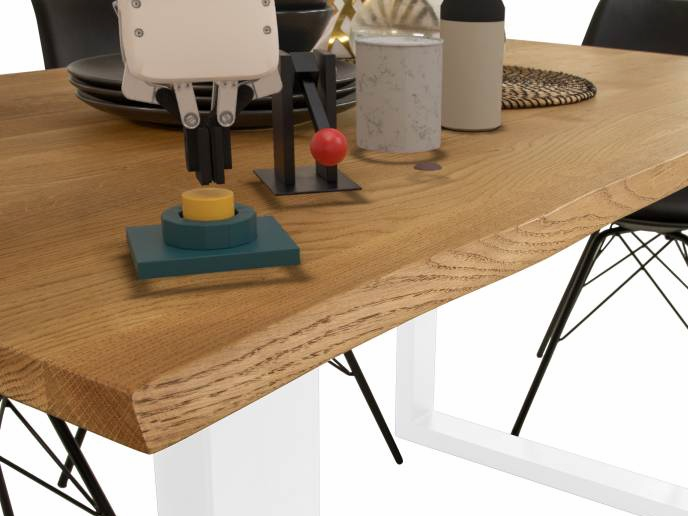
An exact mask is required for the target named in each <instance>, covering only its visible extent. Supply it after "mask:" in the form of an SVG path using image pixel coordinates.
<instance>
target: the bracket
mask: <svg viewBox="0 0 688 516" xmlns="http://www.w3.org/2000/svg"><path fill="white" fill-rule="evenodd" d="M312 52H313V55H314V57H315V60H316V63H317V66H318V68H319V71H320V72H319V79H318V86H317V91H318V94H319V97H320V100H321V103H322V105H323V108H324V111H325V114H326V117H327V119H328V122H329V125H330V128H333V129H336V130H338V121H337V120H338V119H337V118H338V117H337V115H338V114H337V76H338V69H337V56H336V54H335V53H333V52H331V51H328V50H326V49H324V48H313V49H312ZM278 71H279V74H280V78H281V81H282V86H283V87H282V90H281V91H280V92H278V93H275V94H272V95H271V116H272V117H271V120H272V145H273V168H257V169H256V168H255V169H253V170H252V172H253V174H254V175H255V176H256V177H257V178H258V179H259V180H260V182H262V183H263V185H265V187H266V188H267V189H268V190H269V191H270V192H271V194H273V196H274V197H282V196H298V195H299V196H300V195H310V194H311V195H312V194H313V195H314V194H325V193H326V194H327V193H339V192H353V191H363V187H362V186H360V185H359V184H358V183H357V182H355V181H354V180H353V179H352V178H350V177H349V176H348V175H347V174H345V173H344V172H343V171H341V170H340V169H339V168H338V164H337V165H334V166H325V165H322V164H320V163H318V162H317V161H316V160H315V159H314V160H315V161H314V163H315V165H308V166H307V165H305V166H304V165H303V166H296V157H295V156H296V155H295V154H296V153H295V125H294V124H295V123H294V96H293V95H294V93H293V87H292V56H291V55H290V54H289V53H288V52H286V51H284V50H282V49H279V62H278ZM315 133H316V132H315V131H314V134H315Z"/></svg>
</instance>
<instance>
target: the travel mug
mask: <svg viewBox="0 0 688 516" xmlns="http://www.w3.org/2000/svg"><path fill="white" fill-rule="evenodd" d="M505 20H506V6H505V4H504V2H503V0H442V1H441V4H440V6H439V38H440V39H443V41H444V43H443V54H442V103H441V127H442V128H444V129H448V130H452V131H458V132H486V131H491V130H495V129H497V128H498V127H500V126H501V123H502V98H503V77H504V76H503V73H504V50H505V49H504V48H505V25H506V21H505Z"/></svg>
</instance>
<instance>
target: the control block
mask: <svg viewBox="0 0 688 516" xmlns="http://www.w3.org/2000/svg"><path fill="white" fill-rule="evenodd" d="M234 213H235V216H234V217H231V218H227V219H223V220H213V221H197V220H188V219H184V218H183V210H182V204H178V205H174V206H171V207H169V208H167V209H166V210H164V211H162V212H161V213H160V222H161V223H159V224H158V223H157V224H146V225H133V226H125V239H126V245H127V247H128V251H129V254H130V257H131V260H132V263H133V266H134V269H135V273H136V275H137V278H138V280H139V281H140V280H152V279H161V278H172V277H182V276H183V277H184V276H193V275H204V274H215V273H223V272H233V271H243V270H245V271H246V270H255V269H256V270H257V269H266V268H267V269H268V268H276V267H286V266H296V265H297V266H298V265H301V249H300V247H299V245H298V244H297V243H296V241H294V239H293V238H292V237H291V236H290V235H289V234H288V233H287V231H286V230H285V229H284V228H283V226H282V225H281V224H280V223H279V221H277V219H276V218H275V217H274V215H261V216H260V215H259V216H257V211H256V210H255V209H254V208H253V207H252V206H250V205H246V204H242V203H238V202H235V201H234Z"/></svg>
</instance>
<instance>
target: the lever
mask: <svg viewBox="0 0 688 516" xmlns="http://www.w3.org/2000/svg"><path fill="white" fill-rule="evenodd" d="M288 54H290V55H291V56H292V87H293V94H299V93H301V94H302V96H303V98H304V102H305V105H306V108H307V111H308V114H309V117H310V120H311V122H312V123H311V124H312V125H313V128H314V134H313V135H312V138H311V140H310V144H309V150H310V154H311V156H312V158H313V159H314V160H316V161H317V162H318V163H320V164H322V165H325V166H334V165H337V166H338V164H341V162H343V161H344V159H345V158H346V156H347V155H348V150H349V143H348V140H347V138H346V136H345V135H344V134H343V132H341V131H340V130H338V129H337V130H336V129H333V128H330V125H329V122H328V119H327V117H326V114H325V111H324V108H323V105H322V103H321V100H320V97H319V94H318V91H317V86H318V79H319V72H320V71H319V68H318V66H317V63H316V60H315V57H314V55H313V51H300V52H299V51H294V52H291V51H290V52H289V53H288ZM315 132H316V133H315Z"/></svg>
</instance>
